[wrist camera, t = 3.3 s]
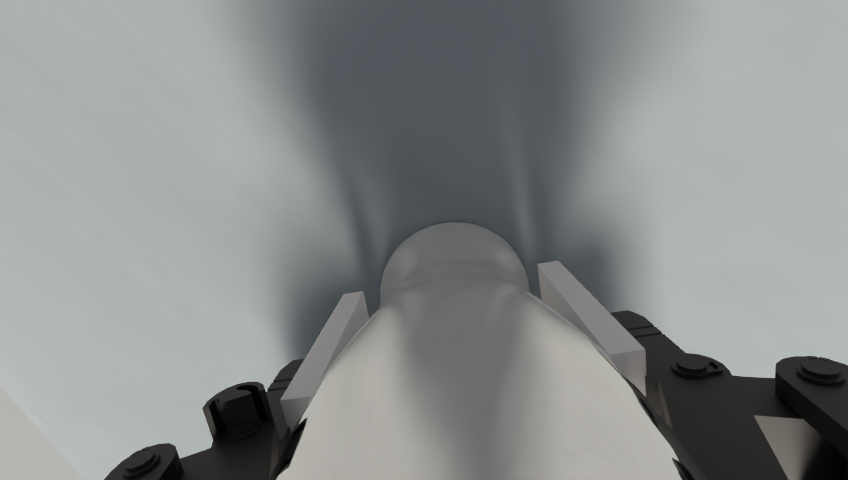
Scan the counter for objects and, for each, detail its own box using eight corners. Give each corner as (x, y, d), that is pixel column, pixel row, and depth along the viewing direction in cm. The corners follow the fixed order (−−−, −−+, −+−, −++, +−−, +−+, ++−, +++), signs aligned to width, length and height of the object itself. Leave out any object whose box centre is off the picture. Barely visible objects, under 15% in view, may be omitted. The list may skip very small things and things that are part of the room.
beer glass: (337, 271, 17) (-162, 942, 3) (477, 175, 16) (806, 485, 2) (432, 394, 19) (415, 1296, 4) (569, 313, 18) (1202, 1156, 3)
